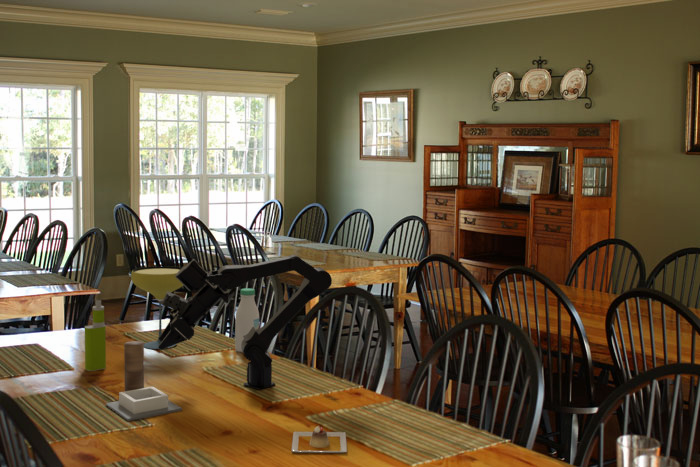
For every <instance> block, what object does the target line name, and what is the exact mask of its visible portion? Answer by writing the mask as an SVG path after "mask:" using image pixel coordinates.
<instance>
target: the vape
mask: <svg viewBox="0 0 700 467" xmlns="http://www.w3.org/2000/svg"><path fill="white" fill-rule="evenodd" d="M106 338H107V336H106V324H105V306H104V305H102V300H100V299H99V300H95V305H93V306H92V325H91V324H90V325H84V370H85V371H88V372H94V371H95V372H96V371H99V370H105V369H106V368H107V360H106V359H107V354H106V353H107V350H106V349H107V348H106V347H107V344H106V341H107V340H106Z"/></svg>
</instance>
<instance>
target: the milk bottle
mask: <svg viewBox="0 0 700 467" xmlns="http://www.w3.org/2000/svg"><path fill="white" fill-rule="evenodd" d="M255 294H256V289H255V288H241V289H240V302H239V303H238V304H239V305H238V307H237V309H236V311H235V312H236V313H235V322H234V323H235V326H234V328H235V329H234V330H235V332H234V333H235V334H234V346H235V347H234V348H235V352H239V353H243V351H242V348H241V343H242V341H243V340H244V337H243V336H244V335H246V334H248V333H249V331H250V330H251V328H252V327H255V329H256V330H257V329H259V328H260V312H259V309H258V306H257V303H256V301H255V296H256V295H255Z"/></svg>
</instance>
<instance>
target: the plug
mask: <svg viewBox="0 0 700 467" xmlns="http://www.w3.org/2000/svg"><path fill="white" fill-rule="evenodd" d="M144 344H145V343H144V342H143V341H138V340H133V341H127V342H124V344H123V345H124V346H123V348H124V349H123V350H124V352H123V353H124V356H123V359H124V364H123V365H124V366H123V367H124V372H123V373H124V376H123V377H124V392H125V391H130V390H136V389H142V388H145V347H144Z"/></svg>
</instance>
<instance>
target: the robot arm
mask: <svg viewBox="0 0 700 467" xmlns="http://www.w3.org/2000/svg"><path fill="white" fill-rule="evenodd" d="M290 272H296V273H297V274H298V275H300V276H302V277H303V280H302V283H301V284H300V285H299V288H298V290H296V292H295V293H294V294H293V295H292V296H291V297H289V299H288V300H287V301H286V302H285V303H284V304H283V305H282V306H281V307H280V308H279V309H278V310H277V311H276V312H275V313H274V314H273V316H272V317H271V318H270V319H269V320H268V321H266V323H265V324H263V326H261V327H259V329H257V330H256V329H255V327H252V328H251V330H250V331H249V333H248V334H246V335H244V336H243V337H244V340H243V341H242V343H241V348H242V351H243V352H242V354H243V357H245V359H246V360H248V362H247V367H246V382H243V386H244V387H245V386H246V387H249V388H252V389H255V390H258V391H259V390H263V389H266V388H270V387H273V386H276V382H273V381H272V375H273V374H272V372H273V371H272V370H273V369H272V368H273V364H272V362H273V359H272V356H271V355H270V352H269V351H268V350H269V348H270V346H271V344H272V342H273V339H274V338H275V337H276V336H277V335H278V334H279V333H280V332H281V331H282V330H283V329H284V328H285V327H286V325H287V324H289V323H290V321H292V319H293V318H295V316H296V315H297V314H298V313H299V312H301V310H302V309H303V308H304V307H305V306H306V305H307V304H308V303H309V302H310V301H311V300H313V299H315V298H316V297H319V296H320V295H322V294H324V293H325V292H326V291H328V290H329V289H330V287H331V286H332V283H333V281H332V280H333V279H332V275H331V274H330V273H329V272H328V271H327V270H325V268H322V267H320V266H319V267H314V266H313V265H311V264H309V263H308V262H306V261H305V260H303V259H302V258H301V257H300V256H298V255H297V254H291V255H290V254H289V255H288V256H285V257H280V258H276V259H271V260H265V261H262V262H258V263H253V264H252V263H251V264H229V265H228V264H226V265H223V266H221V267H219V269H217V270H211V271H206V270H205V269H204V268H202V266H200V264H199V263H198V262H197V260H196V259H195V258H192V260H191V261H190V262H188V263H187V264H186V265H183V266H182V267H181V269H180V270H179V271H178V273H177V274H176V275H175V277H176V278H177V279H178V280H179V281H180V282H181V283H182V284H183V286H184V287H185V288H186V289H187V290H188V291H189V292H191V291H193V292H194V291H195V292H196V293H195V294H194V295H193V296H189V297H188V298H187V299H186V298H183V297H181V296H180V295H177V294H176V293H173V292H171V293H170V292H167V293H166V295H165V297H164V299H163V301H161V306H162V305H163V306H164V307H166V308H167V307H168V308H170V309H171V310H170V312H169V322H168V323H167V325H166V327H165V328H164V329H163V331H162V334H161V336H160V337H159V336H158V337H159V340H160V341H162V342H161V344H160V345H159V348H160V349H161V351H162V350H166V349H165V348H167V347H170V346H172V345H175V344H177V345H178V344H179V343H183V342H186V341H190V340H191V339H192V338H193V337H194V336H195V327H196V326H197V323H199V321H200V320H201V319H202V318H206V317H207V315H208V312H209V311H211V309H213V308H214V306H216V305H217V304H218V303H219V302H220V301H221V300H223V301H224V303H226V304H228V303H229V302H230V301H229V296H230V293H229V291H224V290H233V289H236V288H239V287H241V286H243V285H245V284H247V283H248V282H250V281H253V280H257V279H263V278H266V277H270V276H277V275H280V274H284V273H290ZM213 284H214V285H213ZM202 286H203V287H202ZM222 288H223V289H224V290H223V289H222Z"/></svg>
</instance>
